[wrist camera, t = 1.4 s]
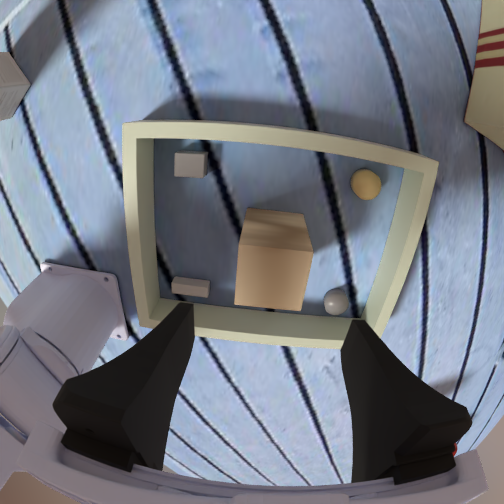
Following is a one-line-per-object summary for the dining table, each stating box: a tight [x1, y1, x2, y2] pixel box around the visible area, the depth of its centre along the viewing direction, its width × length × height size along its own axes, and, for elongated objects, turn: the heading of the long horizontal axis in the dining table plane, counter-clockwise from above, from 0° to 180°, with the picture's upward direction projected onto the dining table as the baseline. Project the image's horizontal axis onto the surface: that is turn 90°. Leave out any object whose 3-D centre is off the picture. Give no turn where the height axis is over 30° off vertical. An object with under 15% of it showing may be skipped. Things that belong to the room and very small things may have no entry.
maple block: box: [234, 208, 314, 311], centre depth 19 cm, size 4×4×6 cm
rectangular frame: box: [122, 120, 439, 349], centre depth 20 cm, size 20×16×3 cm
